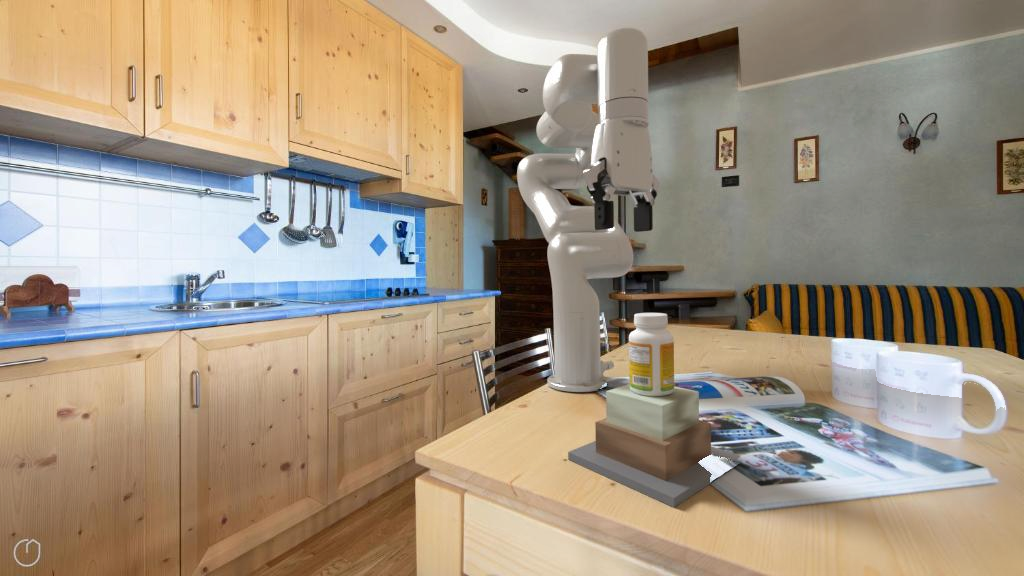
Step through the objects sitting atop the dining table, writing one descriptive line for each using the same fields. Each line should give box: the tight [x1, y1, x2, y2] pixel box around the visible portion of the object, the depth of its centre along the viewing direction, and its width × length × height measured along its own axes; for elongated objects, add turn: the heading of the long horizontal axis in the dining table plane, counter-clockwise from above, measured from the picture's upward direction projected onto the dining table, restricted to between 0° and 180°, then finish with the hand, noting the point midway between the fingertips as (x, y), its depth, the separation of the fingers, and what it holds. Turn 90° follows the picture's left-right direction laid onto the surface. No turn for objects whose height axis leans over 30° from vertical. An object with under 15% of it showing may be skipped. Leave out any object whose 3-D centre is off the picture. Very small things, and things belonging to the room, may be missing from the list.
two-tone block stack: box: [594, 383, 712, 481], centre depth 55 cm, size 10×10×8 cm
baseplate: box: [567, 440, 741, 508], centre depth 56 cm, size 15×15×1 cm
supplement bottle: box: [628, 312, 675, 396], centre depth 55 cm, size 5×5×10 cm
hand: (624, 230), depth 69 cm, fingers open, 9 cm apart
